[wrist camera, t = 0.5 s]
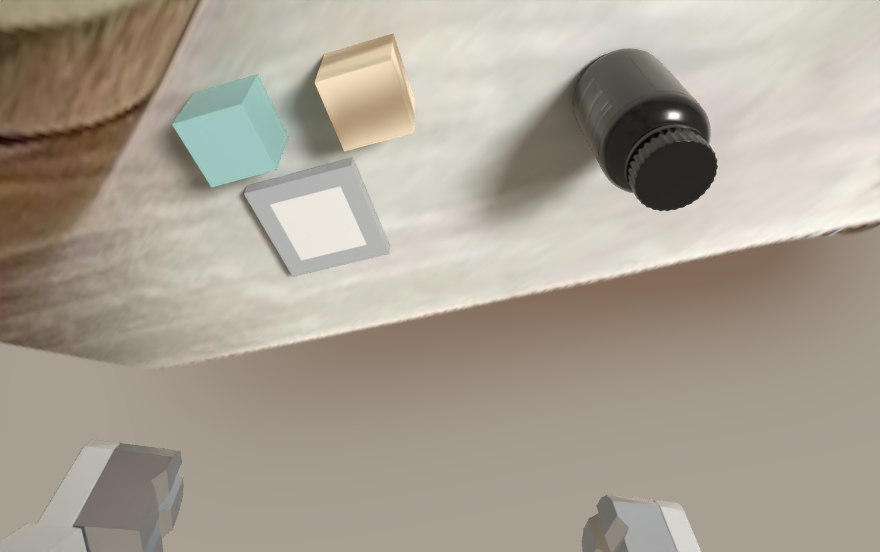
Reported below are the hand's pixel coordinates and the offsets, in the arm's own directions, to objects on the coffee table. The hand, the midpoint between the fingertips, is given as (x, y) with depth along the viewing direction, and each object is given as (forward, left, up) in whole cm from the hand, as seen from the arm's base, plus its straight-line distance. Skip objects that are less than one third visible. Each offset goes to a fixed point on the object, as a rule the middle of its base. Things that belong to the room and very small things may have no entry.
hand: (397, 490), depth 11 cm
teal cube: (+5, -14, -35) cm, 38 cm away
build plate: (+15, -12, -35) cm, 39 cm away
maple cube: (+5, -4, -35) cm, 35 cm away
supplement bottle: (+11, +13, -35) cm, 38 cm away
